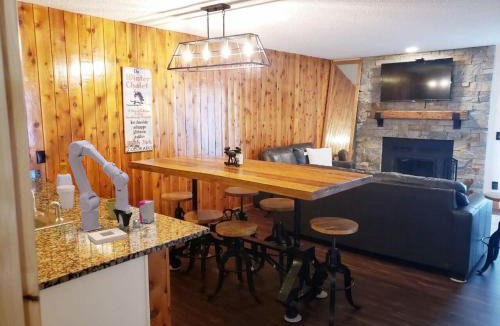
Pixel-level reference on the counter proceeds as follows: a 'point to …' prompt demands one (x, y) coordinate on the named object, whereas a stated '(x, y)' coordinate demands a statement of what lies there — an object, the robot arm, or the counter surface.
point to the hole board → (107, 236)
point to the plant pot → (111, 207)
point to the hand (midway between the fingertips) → (123, 224)
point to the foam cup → (66, 196)
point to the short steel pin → (136, 223)
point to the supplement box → (146, 211)
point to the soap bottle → (63, 177)
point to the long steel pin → (121, 224)
